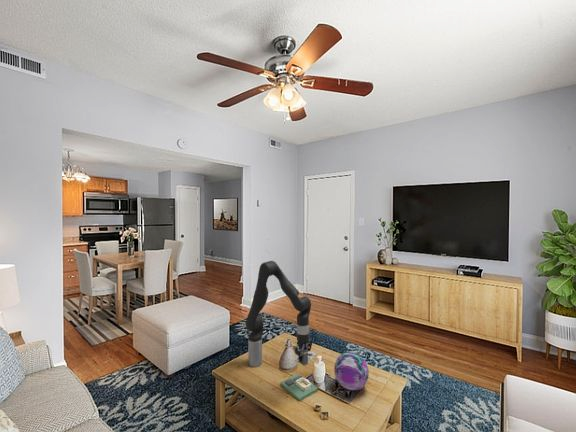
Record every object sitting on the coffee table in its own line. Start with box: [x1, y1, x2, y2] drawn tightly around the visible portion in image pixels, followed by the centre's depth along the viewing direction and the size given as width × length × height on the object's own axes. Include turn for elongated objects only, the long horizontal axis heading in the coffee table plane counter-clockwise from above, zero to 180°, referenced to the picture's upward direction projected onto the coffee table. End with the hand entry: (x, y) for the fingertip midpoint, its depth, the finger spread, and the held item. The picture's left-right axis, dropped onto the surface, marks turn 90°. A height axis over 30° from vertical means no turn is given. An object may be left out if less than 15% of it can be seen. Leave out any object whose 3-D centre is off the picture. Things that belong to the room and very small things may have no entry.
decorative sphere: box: [333, 351, 370, 391], centre depth 162 cm, size 20×20×20 cm
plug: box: [298, 349, 309, 366], centre depth 161 cm, size 5×4×8 cm
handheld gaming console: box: [296, 350, 317, 365], centre depth 195 cm, size 10×2×15 cm
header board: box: [279, 373, 319, 402], centre depth 162 cm, size 18×14×4 cm
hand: (303, 359), depth 161 cm, fingers closed on plug, 3 cm apart
